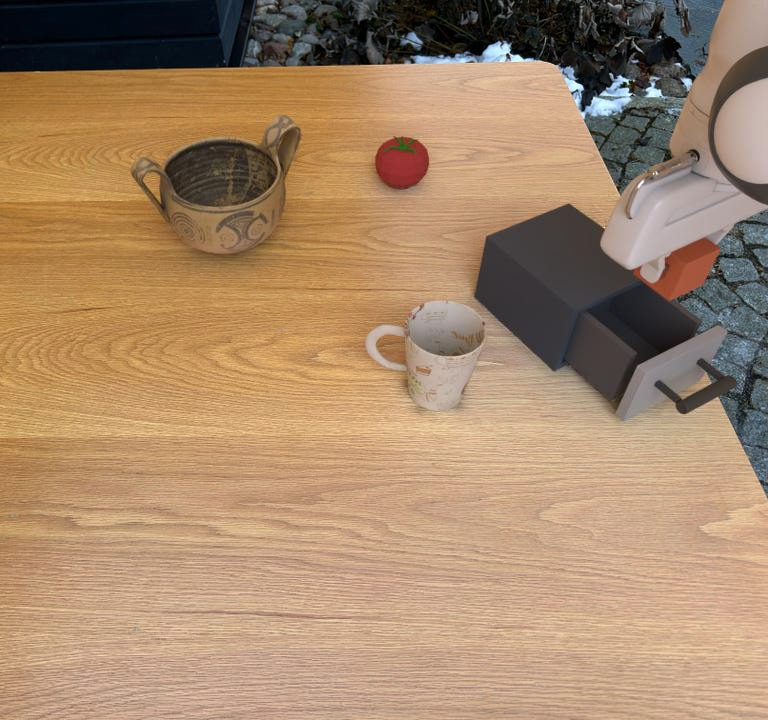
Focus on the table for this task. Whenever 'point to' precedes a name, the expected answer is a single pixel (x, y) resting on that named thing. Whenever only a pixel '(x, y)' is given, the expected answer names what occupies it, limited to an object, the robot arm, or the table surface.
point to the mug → (435, 351)
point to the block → (685, 269)
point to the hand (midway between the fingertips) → (674, 266)
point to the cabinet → (548, 278)
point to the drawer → (646, 352)
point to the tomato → (402, 162)
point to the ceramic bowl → (224, 187)
